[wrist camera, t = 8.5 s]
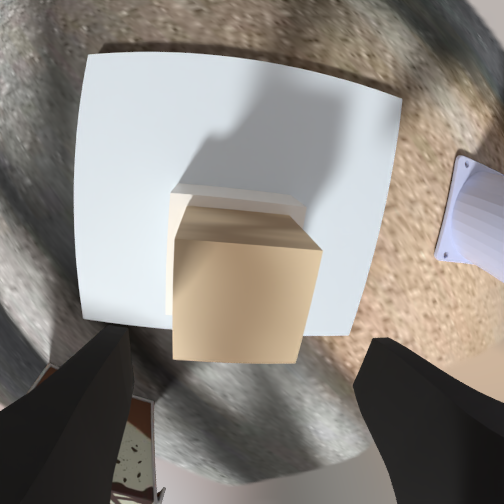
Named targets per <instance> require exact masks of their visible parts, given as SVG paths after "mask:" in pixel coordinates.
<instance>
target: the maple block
mask: <svg viewBox="0 0 504 504" xmlns="http://www.w3.org/2000/svg"><path fill="white" fill-rule="evenodd" d="M322 253H323V250H322V249H321V248H320V247H319V246H318V245H317V244H316V243H315V242H314V241H313V240H312V238H311V237H310V236H309V235H308V234H307V233H306V232H305V231H304V230H303V229H302V228H301V227H300V226H299V225H298V224H297V223H296V222H295V221H294V220H293V219H292V218H291V216H290V215H282V214H273V213H263V212H253V211H243V210H232V209H221V208H210V207H198V206H187V207H186V209H185V212H184V214H183V217H182V220H181V222H180V225H179V228H178V230H177V233H176V236H175V239H174V262H173V311H172V330H173V359H175V360H188V361H203V362H223V363H268V364H275V363H296V360H297V356H298V352H299V349H300V345H301V341H302V337H303V333H304V330H305V326H306V322H307V318H308V314H309V310H310V306H311V302H312V297H313V293H314V289H315V285H316V280H317V276H318V271H319V267H320V262H321V258H322Z"/></svg>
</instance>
